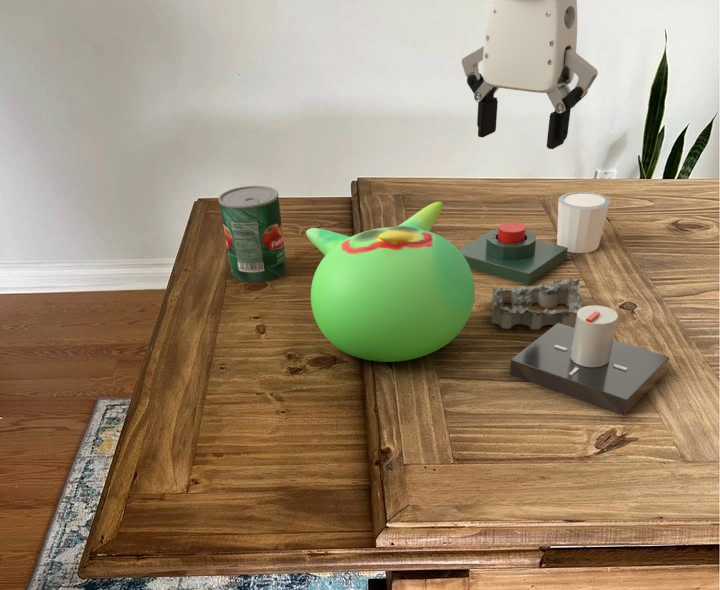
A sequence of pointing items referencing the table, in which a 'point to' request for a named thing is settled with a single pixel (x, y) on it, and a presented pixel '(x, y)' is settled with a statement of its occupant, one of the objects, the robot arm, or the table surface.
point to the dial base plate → (590, 371)
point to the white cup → (581, 220)
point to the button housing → (513, 257)
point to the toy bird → (391, 289)
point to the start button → (511, 232)
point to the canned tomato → (253, 233)
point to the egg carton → (544, 297)
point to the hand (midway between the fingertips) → (520, 140)
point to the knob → (593, 336)
